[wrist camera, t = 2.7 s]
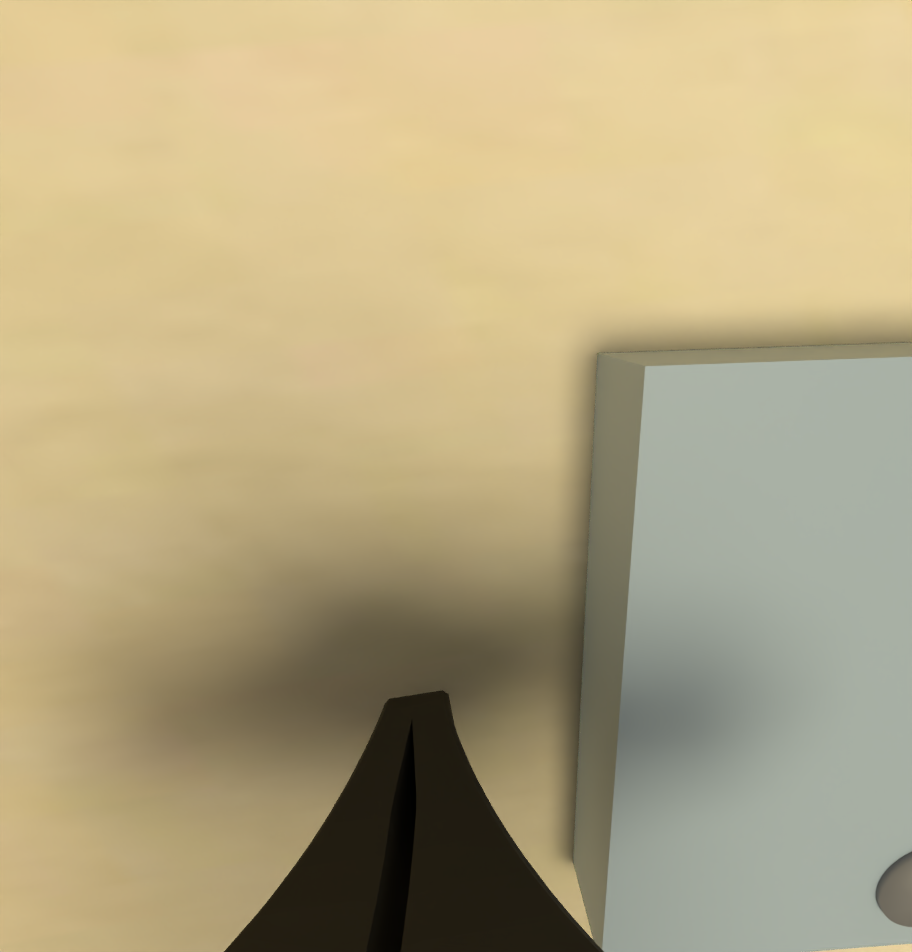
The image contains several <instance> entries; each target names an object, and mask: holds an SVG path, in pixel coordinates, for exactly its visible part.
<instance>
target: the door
mask: <svg viewBox="0 0 912 952" xmlns="http://www.w3.org/2000/svg"><path fill="white" fill-rule="evenodd" d="M573 864H574V867H575V871H576V875H577V879H578V883H579V886H580V890H581V894H582V898H583V902H584V906H585V909H586V913H587V917H588V921H589V925H590V929H591V932H592V936H593V940H594V942H595V943H596V944H597V945H598V946H599V947H600V948H601V949H602V950H603V951H604V952H810V951H822V950H835V949H848V948H860V947H873V946H886V945H898V944H911V943H912V342H902V343H873V344H844V345H815V346H786V347H757V348H728V349H699V350H670V351H641V352H613V353H597V373H596V393H595V414H594V435H593V456H592V477H591V498H590V519H589V540H588V560H587V581H586V602H585V623H584V644H583V665H582V686H581V707H580V728H579V748H578V769H577V790H576V811H575V832H574V853H573Z"/></svg>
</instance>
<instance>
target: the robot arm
mask: <svg viewBox="0 0 912 952" xmlns="http://www.w3.org/2000/svg"><path fill="white" fill-rule="evenodd" d="M224 952H604V951H603V950H602V949H601V948H600V947H599V946H598V945H597V944H596V943H595V942H594V940H593V939H592V938H591V937H590V936H589V935H588V934H587V933H586V932H585V931H584V930H583V928H582V927H581V926H580V925H579V924H578V923H577V922H576V921H575V920H574V918H573V917H572V916H571V915H570V914H569V913H568V911H567V910H566V909H565V908H564V907H563V905H562V904H561V903H560V902H559V901H558V899H557V898H556V897H555V896H554V895H553V893H552V892H551V891H550V890H549V888H548V887H547V886H546V884H545V883H544V882H543V880H542V879H541V878H540V876H539V875H538V874H537V872H536V871H535V870H534V868H533V867H532V866H531V864H530V863H529V862H528V860H527V859H526V858H525V857H524V855H523V854H522V852H521V851H520V850H519V848H518V847H517V845H516V844H515V842H514V841H513V839H512V838H511V836H510V835H509V833H508V832H507V830H506V828H505V827H504V825H503V824H502V822H501V820H500V819H499V817H498V816H497V814H496V812H495V811H494V809H493V807H492V806H491V804H490V802H489V800H488V798H487V797H486V795H485V793H484V791H483V789H482V787H481V785H480V784H479V782H478V780H477V778H476V776H475V774H474V772H473V770H472V768H471V766H470V763H469V761H468V759H467V756H466V754H465V752H464V750H463V747H462V745H461V743H460V740H459V737H458V735H457V732H456V729H455V726H454V721H453V716H452V711H451V705H450V700H449V695H448V694H447V693H446V692H444V691H443V690H442V691H436V692H430V693H423V694H417V695H411V696H405V697H398V698H392V699H389V700H388V701H387V702H386V703H385V705H384V708H383V710H382V713H381V715H380V717H379V720H378V722H377V724H376V727H375V729H374V731H373V733H372V735H371V738H370V740H369V742H368V744H367V746H366V748H365V750H364V752H363V754H362V756H361V758H360V760H359V762H358V764H357V766H356V768H355V770H354V772H353V773H352V775H351V777H350V779H349V781H348V783H347V785H346V786H345V788H344V790H343V791H342V793H341V795H340V797H339V798H338V800H337V802H336V803H335V805H334V807H333V809H332V810H331V812H330V814H329V815H328V817H327V819H326V820H325V822H324V823H323V825H322V826H321V828H320V830H319V831H318V833H317V834H316V836H315V837H314V839H313V840H312V842H311V843H310V845H309V846H308V848H307V849H306V850H305V852H304V853H303V855H302V856H301V858H300V859H299V860H298V862H297V863H296V865H295V866H294V867H293V869H292V870H291V871H290V873H289V874H288V875H287V877H286V878H285V879H284V881H283V882H282V883H281V885H280V886H279V887H278V888H277V890H276V891H275V892H274V894H273V895H272V896H271V898H270V899H269V900H268V901H267V903H266V904H265V905H264V906H263V907H262V909H261V910H260V911H259V912H258V914H257V915H256V916H255V917H254V918H253V919H252V921H251V922H250V923H249V924H248V925H247V926H246V927H245V928H244V930H243V931H242V932H241V933H240V934H239V935H238V936H237V938H236V939H235V940H234V941H233V942H232V943H231V944H230V946H229V947H228V948H227V949H226V950H225V951H224Z"/></svg>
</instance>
